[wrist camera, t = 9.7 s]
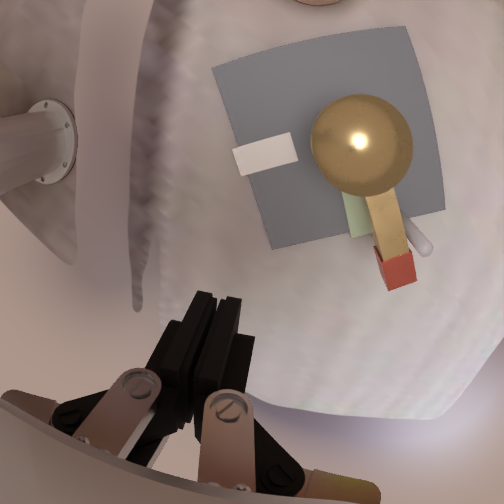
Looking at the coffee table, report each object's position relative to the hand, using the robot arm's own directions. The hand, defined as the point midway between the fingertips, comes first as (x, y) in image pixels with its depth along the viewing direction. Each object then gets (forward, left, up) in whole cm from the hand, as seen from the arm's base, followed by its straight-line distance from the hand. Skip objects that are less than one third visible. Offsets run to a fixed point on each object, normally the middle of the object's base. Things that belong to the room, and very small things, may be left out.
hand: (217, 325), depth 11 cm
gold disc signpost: (+9, -1, -17) cm, 19 cm away
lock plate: (+9, +3, -25) cm, 27 cm away
